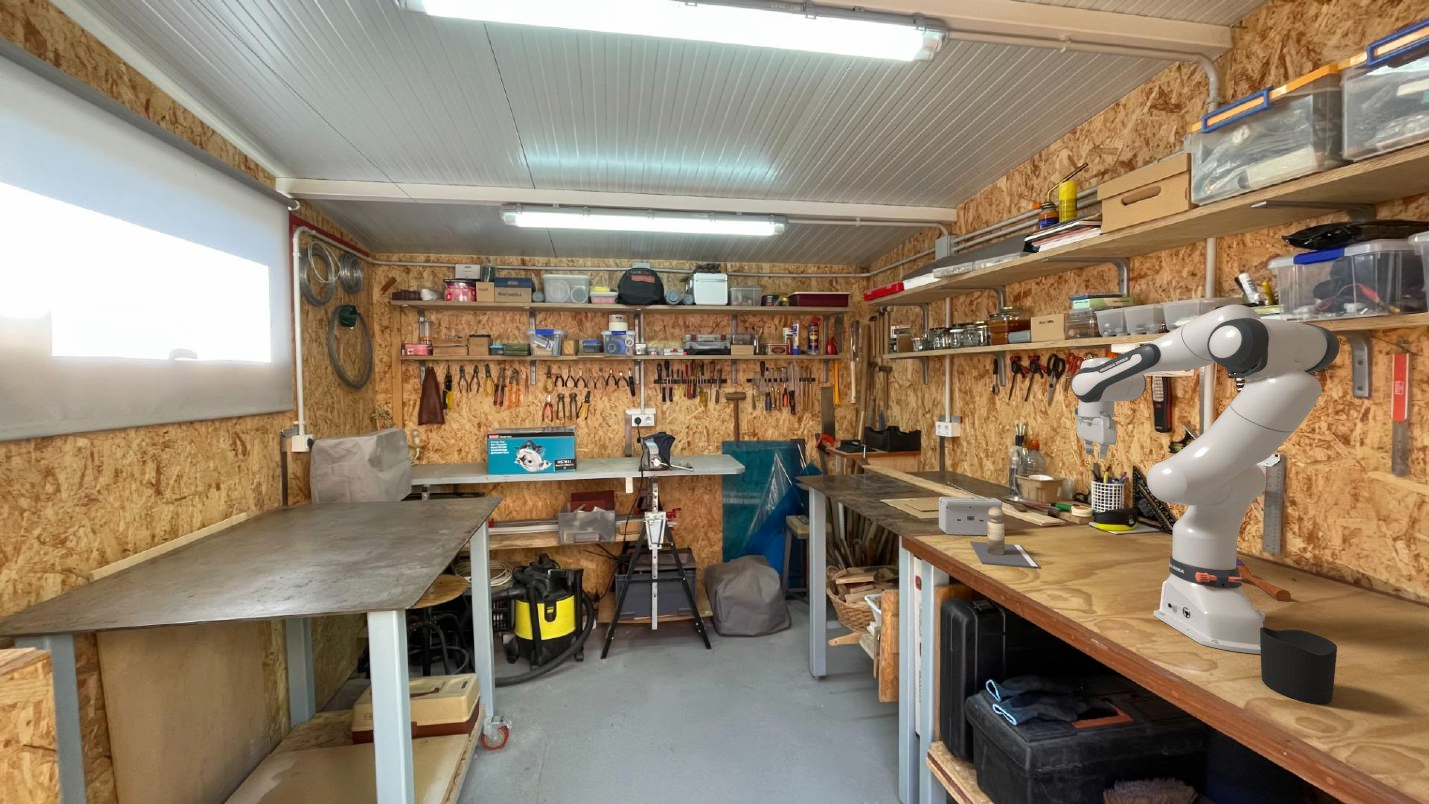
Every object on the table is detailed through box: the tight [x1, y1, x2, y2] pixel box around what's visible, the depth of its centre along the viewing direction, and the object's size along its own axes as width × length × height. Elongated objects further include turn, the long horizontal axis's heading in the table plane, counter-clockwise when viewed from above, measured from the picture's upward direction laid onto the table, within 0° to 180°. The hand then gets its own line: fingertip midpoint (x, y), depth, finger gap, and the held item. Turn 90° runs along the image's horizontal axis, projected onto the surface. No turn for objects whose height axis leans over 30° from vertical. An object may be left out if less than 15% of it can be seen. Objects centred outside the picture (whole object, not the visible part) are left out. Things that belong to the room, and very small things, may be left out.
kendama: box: [1236, 558, 1292, 602], centre depth 144 cm, size 6×6×20 cm
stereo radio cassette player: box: [938, 481, 1003, 536], centre depth 196 cm, size 21×8×20 cm, turn 82°
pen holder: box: [1260, 626, 1338, 705], centre depth 96 cm, size 9×9×10 cm
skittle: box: [986, 507, 1006, 555], centre depth 172 cm, size 5×5×15 cm
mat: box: [970, 541, 1041, 569], centre depth 172 cm, size 22×16×1 cm
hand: (1095, 456), depth 159 cm, fingers open, 8 cm apart
